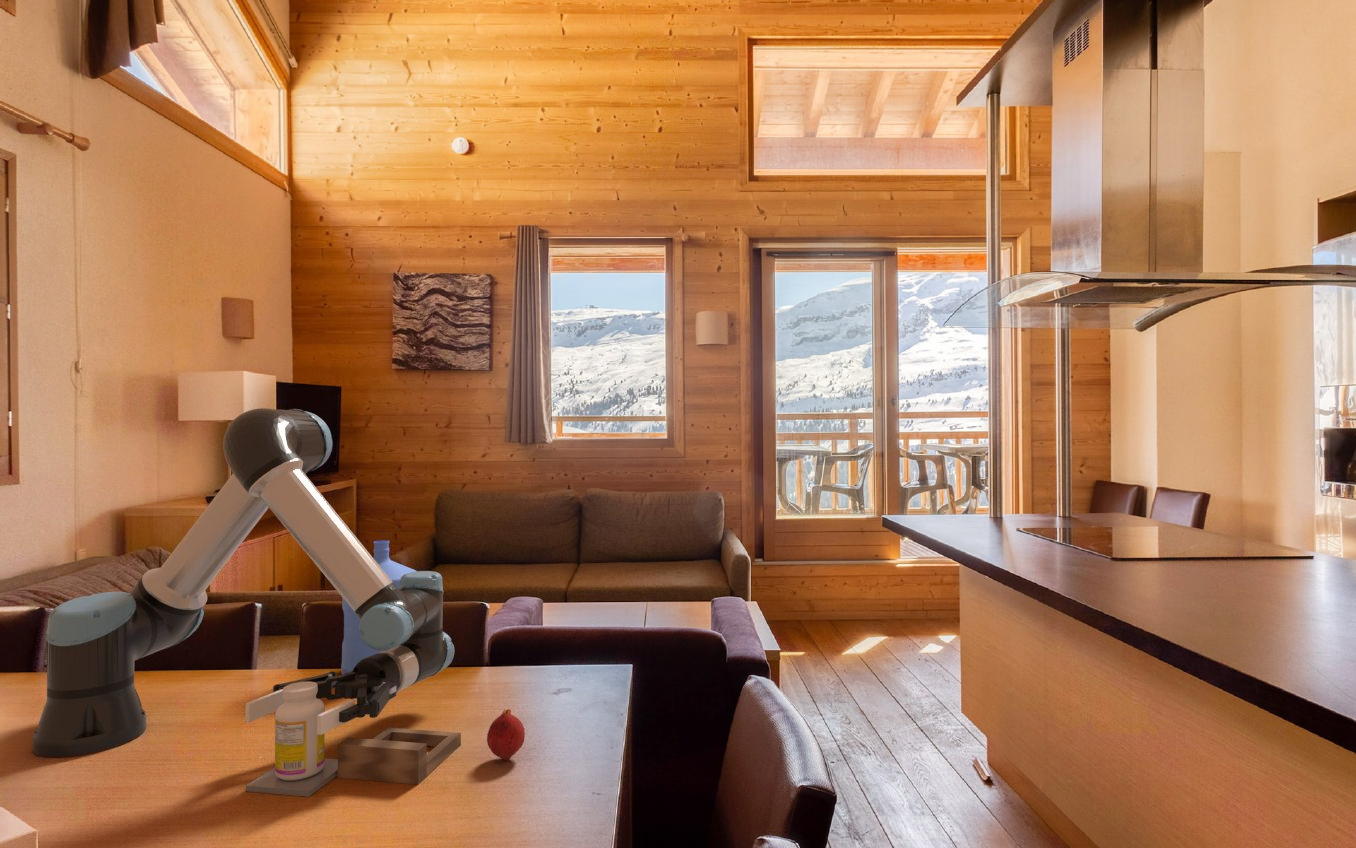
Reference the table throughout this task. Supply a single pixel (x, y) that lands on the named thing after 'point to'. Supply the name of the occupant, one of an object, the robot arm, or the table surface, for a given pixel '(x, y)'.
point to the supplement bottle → (299, 733)
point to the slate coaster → (294, 781)
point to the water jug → (352, 641)
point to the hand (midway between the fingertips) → (282, 719)
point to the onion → (506, 735)
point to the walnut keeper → (395, 755)
